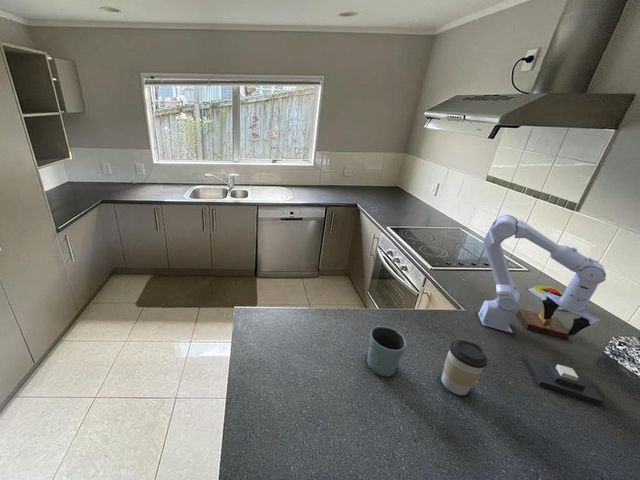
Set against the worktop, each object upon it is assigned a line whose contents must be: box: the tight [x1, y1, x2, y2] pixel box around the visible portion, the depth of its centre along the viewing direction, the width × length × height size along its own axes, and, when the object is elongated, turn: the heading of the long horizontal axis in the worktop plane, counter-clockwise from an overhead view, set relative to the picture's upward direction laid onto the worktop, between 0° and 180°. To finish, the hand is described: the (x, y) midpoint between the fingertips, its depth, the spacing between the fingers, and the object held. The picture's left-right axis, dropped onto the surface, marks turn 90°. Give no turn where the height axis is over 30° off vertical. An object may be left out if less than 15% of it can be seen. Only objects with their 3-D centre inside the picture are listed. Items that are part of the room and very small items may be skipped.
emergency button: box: [527, 285, 569, 312], centre depth 126 cm, size 9×4×15 cm
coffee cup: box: [440, 339, 489, 396], centre depth 83 cm, size 9×9×15 cm
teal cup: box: [366, 325, 407, 377], centre depth 89 cm, size 10×10×12 cm
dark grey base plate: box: [526, 357, 604, 406], centre depth 87 cm, size 14×10×4 cm
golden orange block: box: [539, 308, 553, 325], centre depth 109 cm, size 5×2×4 cm, turn 154°
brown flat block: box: [517, 308, 570, 340], centre depth 111 cm, size 12×10×3 cm
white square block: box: [555, 363, 579, 381], centre depth 86 cm, size 4×4×2 cm
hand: (558, 326), depth 98 cm, fingers open, 7 cm apart
